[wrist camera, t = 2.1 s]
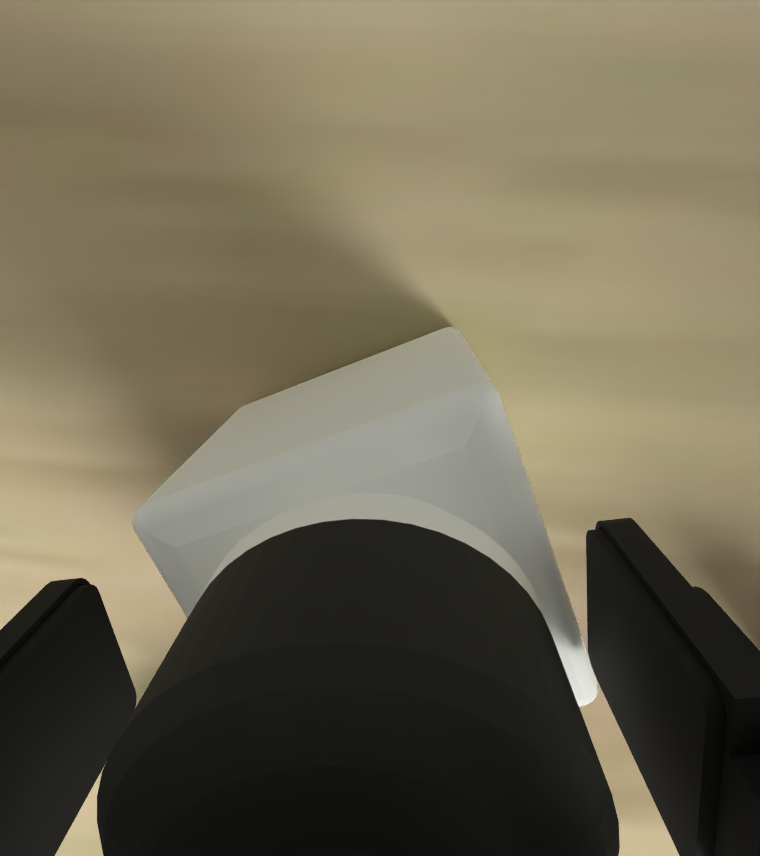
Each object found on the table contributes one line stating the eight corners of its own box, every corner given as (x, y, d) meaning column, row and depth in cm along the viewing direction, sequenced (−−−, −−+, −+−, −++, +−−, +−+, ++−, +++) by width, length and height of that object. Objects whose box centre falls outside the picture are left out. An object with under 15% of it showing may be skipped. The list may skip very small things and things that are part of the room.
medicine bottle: (235, 406, 16) (-148, 772, 5) (456, 320, 15) (606, 544, 4) (327, 591, 18) (204, 1146, 7) (528, 528, 17) (764, 1069, 6)
